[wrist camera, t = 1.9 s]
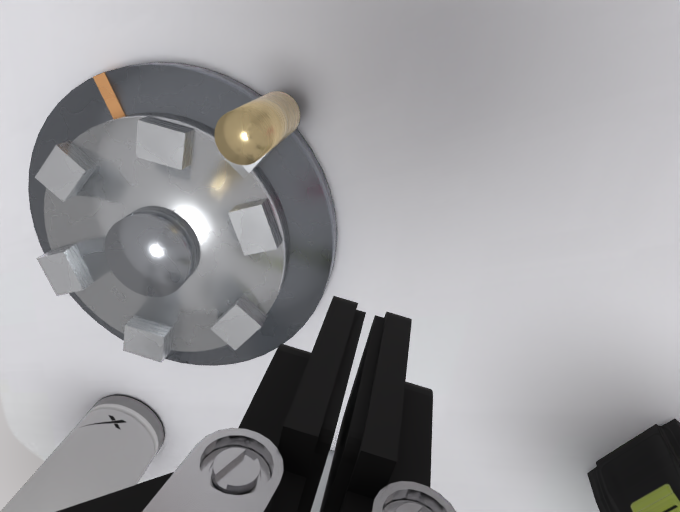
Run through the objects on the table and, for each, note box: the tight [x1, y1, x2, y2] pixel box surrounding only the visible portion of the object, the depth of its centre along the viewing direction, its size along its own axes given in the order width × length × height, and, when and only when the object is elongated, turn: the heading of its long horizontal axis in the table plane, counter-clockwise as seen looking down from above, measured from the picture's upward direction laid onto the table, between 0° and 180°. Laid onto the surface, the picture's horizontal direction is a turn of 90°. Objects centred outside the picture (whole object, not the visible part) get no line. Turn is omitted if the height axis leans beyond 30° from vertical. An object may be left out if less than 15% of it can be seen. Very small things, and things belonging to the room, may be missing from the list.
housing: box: [28, 62, 337, 365], centre depth 34 cm, size 20×20×2 cm
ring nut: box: [35, 91, 300, 362], centre depth 30 cm, size 19×15×6 cm
